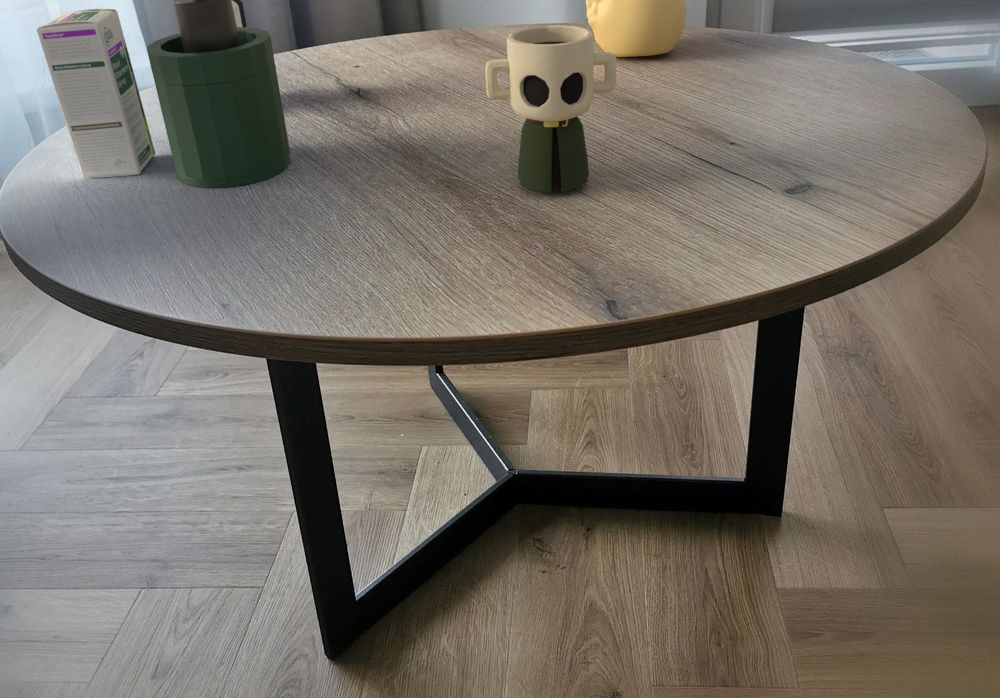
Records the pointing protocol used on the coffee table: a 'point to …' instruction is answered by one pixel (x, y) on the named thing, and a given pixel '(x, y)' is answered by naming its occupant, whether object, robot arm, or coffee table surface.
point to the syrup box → (97, 92)
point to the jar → (222, 110)
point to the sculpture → (636, 25)
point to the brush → (206, 25)
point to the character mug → (551, 100)
